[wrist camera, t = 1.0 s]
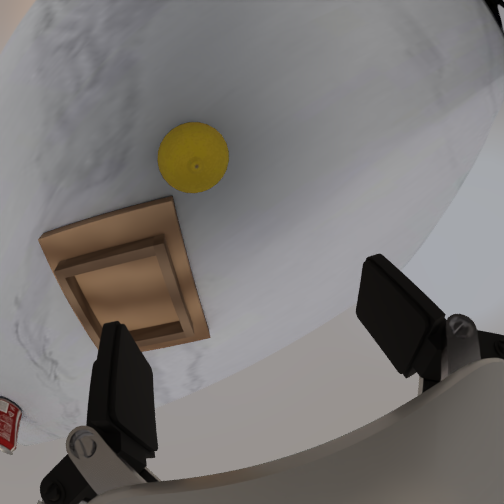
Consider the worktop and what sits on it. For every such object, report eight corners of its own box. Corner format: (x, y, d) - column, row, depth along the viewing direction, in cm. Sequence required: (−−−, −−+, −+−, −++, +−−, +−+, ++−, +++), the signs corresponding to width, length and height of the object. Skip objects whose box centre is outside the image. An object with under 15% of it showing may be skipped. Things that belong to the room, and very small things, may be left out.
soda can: (-6, 392, 31) (-17, 436, 21) (18, 402, 34) (9, 449, 24) (2, 406, 33) (-7, 448, 23) (25, 415, 36) (18, 459, 26)
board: (43, 233, 23) (30, 248, 20) (172, 195, 25) (172, 208, 22) (105, 349, 32) (102, 369, 29) (208, 329, 35) (212, 349, 32)
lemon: (196, 189, 26) (205, 221, 19) (149, 158, 23) (137, 179, 16) (232, 143, 24) (255, 157, 18) (185, 108, 22) (188, 107, 15)
